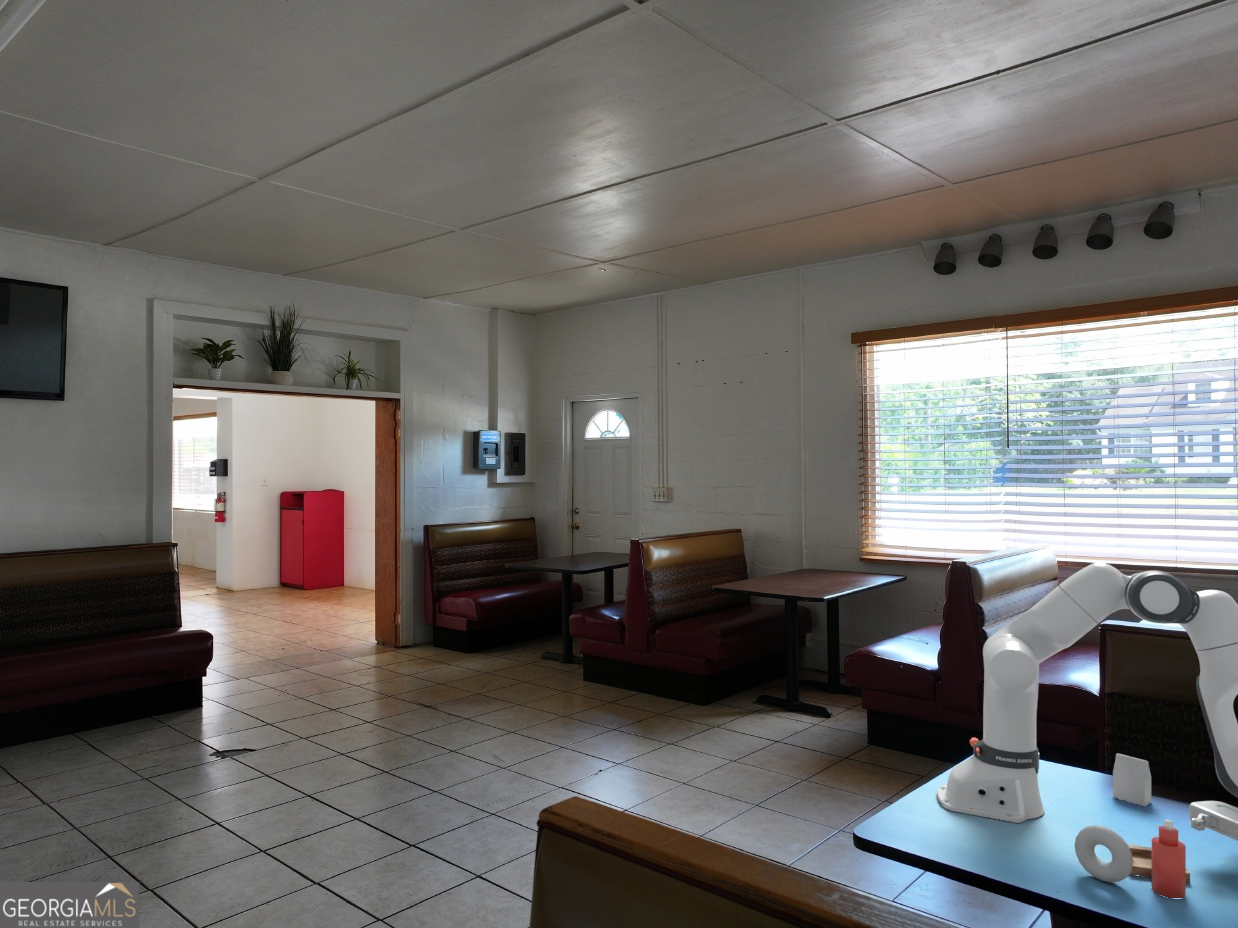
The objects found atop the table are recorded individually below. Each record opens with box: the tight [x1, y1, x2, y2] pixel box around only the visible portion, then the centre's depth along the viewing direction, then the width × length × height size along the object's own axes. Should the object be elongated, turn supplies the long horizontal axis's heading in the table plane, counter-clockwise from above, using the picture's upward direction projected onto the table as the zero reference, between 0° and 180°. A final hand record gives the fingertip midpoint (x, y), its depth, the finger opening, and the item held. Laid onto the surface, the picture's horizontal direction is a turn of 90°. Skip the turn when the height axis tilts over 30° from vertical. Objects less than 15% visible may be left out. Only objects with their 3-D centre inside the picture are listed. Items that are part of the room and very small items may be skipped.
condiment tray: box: [1128, 844, 1191, 884], centre depth 162 cm, size 10×10×2 cm
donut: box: [1074, 824, 1133, 884], centre depth 156 cm, size 10×4×10 cm, turn 39°
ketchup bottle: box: [1151, 819, 1187, 899], centre depth 152 cm, size 5×5×13 cm
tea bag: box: [1112, 753, 1152, 807], centre depth 194 cm, size 4×7×10 cm, turn 38°
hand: (1218, 835), depth 155 cm, fingers open, 8 cm apart
